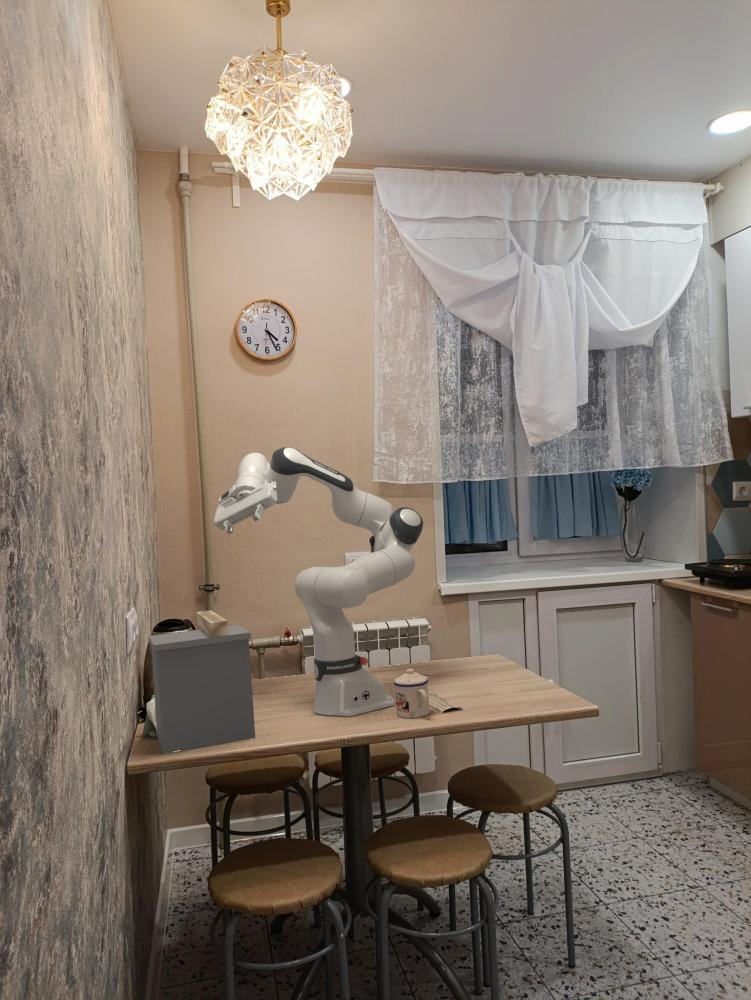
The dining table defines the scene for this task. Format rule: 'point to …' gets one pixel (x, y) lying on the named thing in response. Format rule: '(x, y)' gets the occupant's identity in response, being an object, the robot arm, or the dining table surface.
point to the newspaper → (440, 703)
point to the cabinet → (202, 688)
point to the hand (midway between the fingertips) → (242, 525)
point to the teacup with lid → (411, 695)
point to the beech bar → (212, 623)
